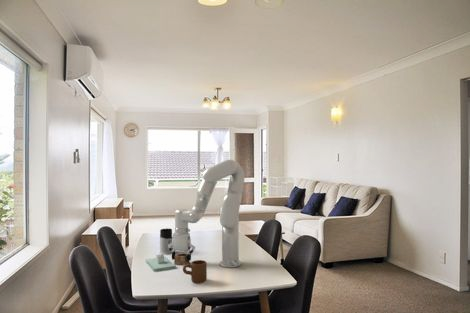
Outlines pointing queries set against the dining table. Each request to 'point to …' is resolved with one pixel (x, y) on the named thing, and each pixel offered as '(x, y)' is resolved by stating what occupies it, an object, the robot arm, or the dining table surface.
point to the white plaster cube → (160, 258)
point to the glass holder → (165, 241)
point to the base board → (161, 266)
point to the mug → (197, 271)
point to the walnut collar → (181, 259)
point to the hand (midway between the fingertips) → (181, 260)
